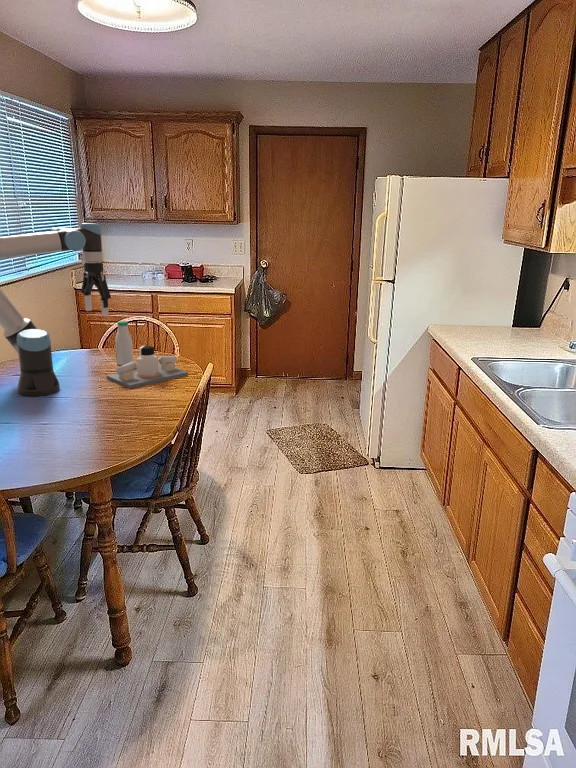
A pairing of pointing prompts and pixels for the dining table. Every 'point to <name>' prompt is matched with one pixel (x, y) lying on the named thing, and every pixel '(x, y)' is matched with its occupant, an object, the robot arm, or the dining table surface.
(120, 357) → the milk bottle
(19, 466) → the dining table surface
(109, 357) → the dining table surface
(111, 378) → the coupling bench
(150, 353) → the medicine bottle
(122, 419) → the dining table surface
